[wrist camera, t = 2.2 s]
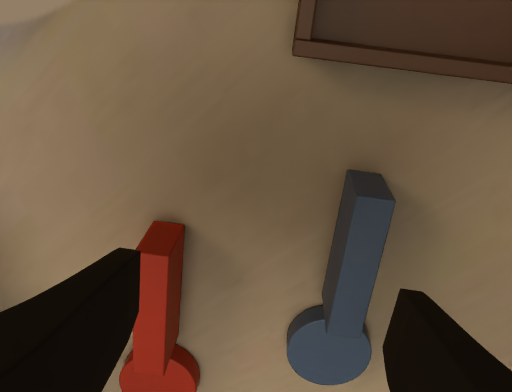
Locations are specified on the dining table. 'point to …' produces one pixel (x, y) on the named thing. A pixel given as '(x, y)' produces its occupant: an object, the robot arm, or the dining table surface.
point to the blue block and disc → (345, 287)
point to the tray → (410, 35)
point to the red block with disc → (159, 318)
